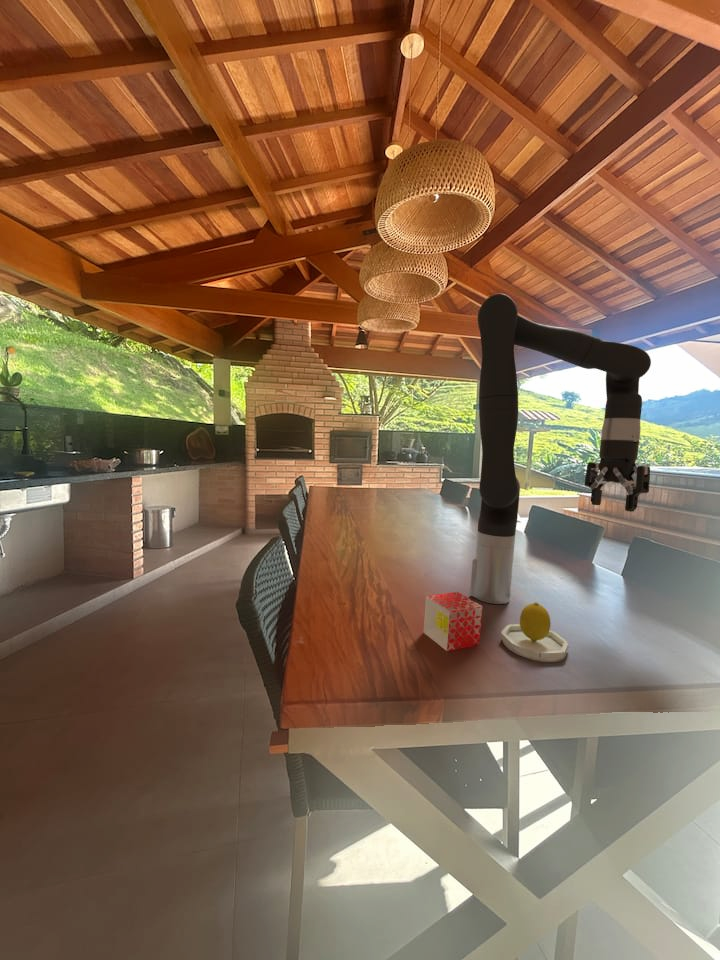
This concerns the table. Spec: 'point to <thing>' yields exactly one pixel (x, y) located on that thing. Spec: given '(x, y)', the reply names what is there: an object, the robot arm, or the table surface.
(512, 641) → the dish
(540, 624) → the lemon
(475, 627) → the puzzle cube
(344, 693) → the table surface
